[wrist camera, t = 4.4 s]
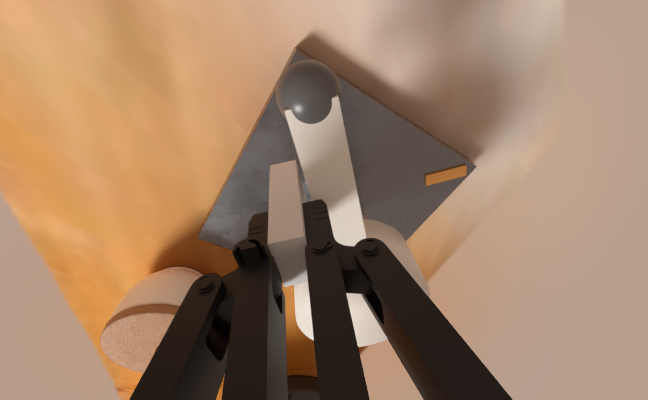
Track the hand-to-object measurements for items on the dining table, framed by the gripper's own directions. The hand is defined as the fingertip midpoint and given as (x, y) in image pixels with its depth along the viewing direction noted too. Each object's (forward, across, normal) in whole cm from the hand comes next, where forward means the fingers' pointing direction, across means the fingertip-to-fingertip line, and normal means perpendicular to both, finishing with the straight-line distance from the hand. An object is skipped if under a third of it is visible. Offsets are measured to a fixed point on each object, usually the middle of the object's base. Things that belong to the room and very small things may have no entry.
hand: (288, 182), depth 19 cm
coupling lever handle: (+1, +3, -3) cm, 4 cm away
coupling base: (+10, +3, -9) cm, 14 cm away
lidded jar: (+11, -17, -17) cm, 26 cm away
